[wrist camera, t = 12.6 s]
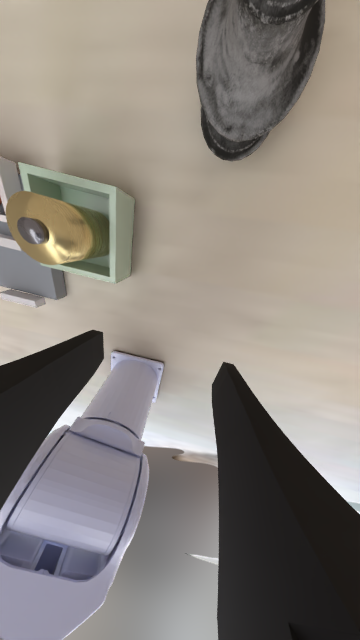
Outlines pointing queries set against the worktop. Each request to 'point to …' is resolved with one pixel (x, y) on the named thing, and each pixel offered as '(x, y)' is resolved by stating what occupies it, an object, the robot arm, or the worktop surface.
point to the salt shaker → (253, 68)
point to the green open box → (96, 198)
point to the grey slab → (22, 255)
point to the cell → (56, 229)
